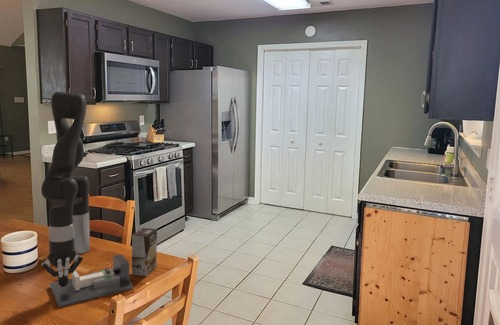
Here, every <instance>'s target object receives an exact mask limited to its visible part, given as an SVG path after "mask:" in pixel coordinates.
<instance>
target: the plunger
mask: <svg viewBox="0 0 500 325" xmlns="http://www.w3.org/2000/svg"><path fill="white" fill-rule="evenodd" d="M109 269H110V268H109V267H105V268H104V270H105V271H104V272H99V271H98V272H99V273H95V274H90V273H89V274H90V275H89V274H85V275H81V276H80V274H79V273H78V272H77V270H75V271H74V272H73V273H71V278H72V285H73V287H74V289H75V291H77V290H80V288H83V287H87V286H91V285H93V280H94V279H98V278H103V277H104V276H109V275H111V276H112V275H114V272H113V271H112V270H109Z"/></svg>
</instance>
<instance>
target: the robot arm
mask: <svg viewBox="0 0 500 325" xmlns="http://www.w3.org/2000/svg"><path fill="white" fill-rule="evenodd" d="M50 101H51V103H50V104H51V111H52V113H51V114H52V117H53V121H54V128H55V132H56V144H55V145H54V147H53V151H52V158H51V164H50V168H49V170H48V172H47V174H46V176H45V178H44V180H43V182H42V185H41V190H40V191H41V195H42V197H43V198H44V199H46V200H50V201H53V200H57V201H58V200H64V203H63V204H60V205H54V206H51V207H50V208H49V210H48V226H49V227H48V247H49V248H48V250H49V251H48V252H49V254H48V256H47V259H46V260H45V261H42V262H41V263H40V264H41V268H42V269H44V270H45V271H46V272H47V273H48V274H50V275H51V276H52V277H54V278H56V277H57V281H58V284H59V286H61V287H65V286H66V284H68V279H69V275H71V274H72V273H73V272H74V271H76V270H77V268H78V267H79V265H80V264H81V263H82V261H83V260H84V259H83V257H82V256H81V255H80V254H84V253H88V252H89V251H90V249H91V248H90V247H91V245H90V242H91V241H90V240H91V239H90V238H91V236H90V235H91V234H90V205H89V204H90V203H89V202H90V201H89V200H90V199H89V198H90V179H89V178H88V176H86V175H72V173H73V172H74V170H75V169H77V167H78V166H79V165H80V163H81V162H82V161H83V159H84V156H85V150H84V142H83V139H82V138H81V134H82V129H83V126H84V122H85V117H86V113H87V99H86V96H85V95H84V94H82V93H76V92H65V91H56V92H54V93H53V94H52V96H51V100H50ZM67 119H71V120H73V122H72V124H71V126H70V124H69V122H68V121H67ZM77 198H80V199H79V200H78V201H75V200H76V199H77ZM51 265H53V266H54V267H55V268H56V271H55V270H54V268H52V267H51Z"/></svg>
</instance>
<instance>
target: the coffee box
mask: <svg viewBox="0 0 500 325" xmlns="http://www.w3.org/2000/svg"><path fill="white" fill-rule="evenodd" d="M157 241H158V229H156V228H148V227H147V228H145V227H143V228H141V229H138V230H137V231H136V232H134V233H133V234H131V275H134V276H141V277H147V276H149V274H150V273H152V271H154V270H155V269H156V268H157V259H158V258H157V254H158V251H157V249H158V242H157Z"/></svg>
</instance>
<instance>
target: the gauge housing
mask: <svg viewBox="0 0 500 325" xmlns="http://www.w3.org/2000/svg"><path fill="white" fill-rule="evenodd" d="M112 258H113V259H112V260H113V261H112V263H113V264H112V267H113V268H108V269H109V270H112V271H113V272H114V275H112V276H111V275H109V276H104V277H103V278H98V279H94V280H93V285H91V286H87V287H83V288H80V290H77V291H75V289H74V287H73V285H72V277H71V278H68V284H66V286H65V287H61V286H59V284H58V280H57V281H54V282H50V283H49V288H50V291H51V293H52V295H53V297H54V300H55V301H56V304H57V307H58V308H62V307H67V306H71V305H75V304H77V303H82V302H86V301H89V300H93V299H98V298H101V297H107V296H110V295H115V294H118V293H122V292H126V291H128V290H129V291H130V290H133V289H134V288H133V283H132V282H131V281H130V262H129V261H128V260H127V259H126V257H125V256H124V255H122V253H121V254H115V255H113V257H112ZM104 271H105V269H101V270H98V271H94V272H91V273H90V272H89V273H88V275H90V274H95V273H99V272H104Z"/></svg>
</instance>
